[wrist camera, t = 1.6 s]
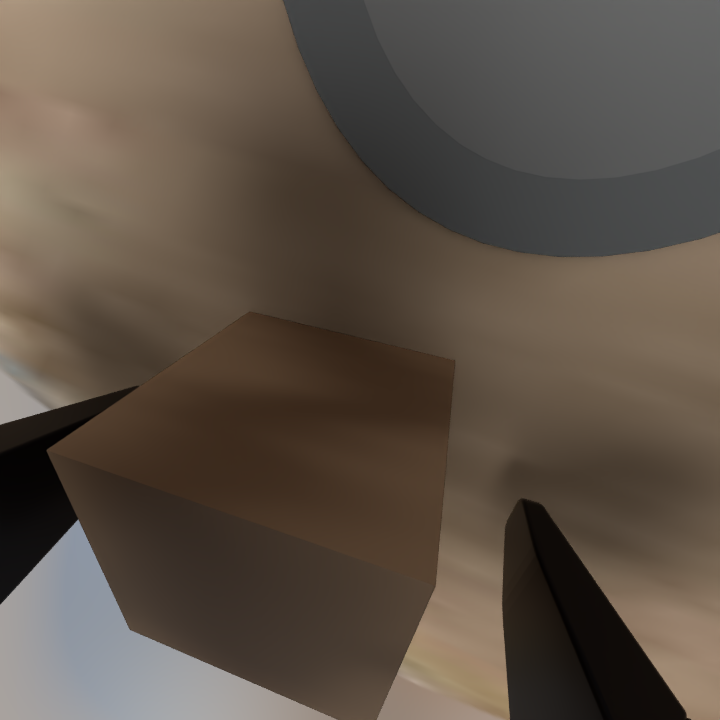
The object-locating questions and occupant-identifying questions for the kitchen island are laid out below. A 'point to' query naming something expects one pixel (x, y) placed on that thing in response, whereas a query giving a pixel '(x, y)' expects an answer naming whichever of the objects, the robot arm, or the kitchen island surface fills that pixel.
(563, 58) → the slate coaster
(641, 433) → the kitchen island surface
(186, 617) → the walnut block
